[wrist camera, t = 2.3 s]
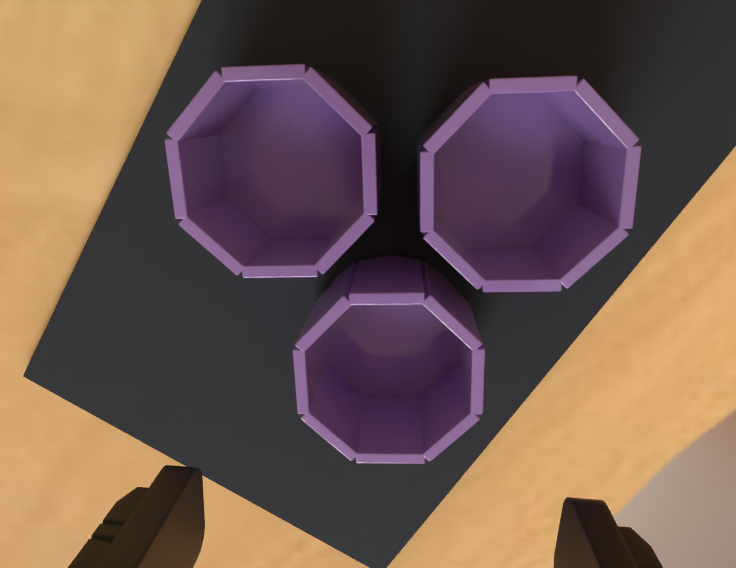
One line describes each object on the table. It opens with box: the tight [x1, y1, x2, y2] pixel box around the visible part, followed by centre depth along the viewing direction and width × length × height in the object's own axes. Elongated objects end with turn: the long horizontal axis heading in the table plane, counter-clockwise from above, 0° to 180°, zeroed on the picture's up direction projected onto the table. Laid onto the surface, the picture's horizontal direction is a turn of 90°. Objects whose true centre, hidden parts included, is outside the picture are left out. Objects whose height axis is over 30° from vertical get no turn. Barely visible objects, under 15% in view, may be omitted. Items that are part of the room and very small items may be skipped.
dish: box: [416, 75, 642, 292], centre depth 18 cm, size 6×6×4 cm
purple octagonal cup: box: [165, 64, 382, 278], centre depth 18 cm, size 6×6×4 cm
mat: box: [23, 0, 736, 568], centre depth 21 cm, size 28×18×1 cm, turn 148°
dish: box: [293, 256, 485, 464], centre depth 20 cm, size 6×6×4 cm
